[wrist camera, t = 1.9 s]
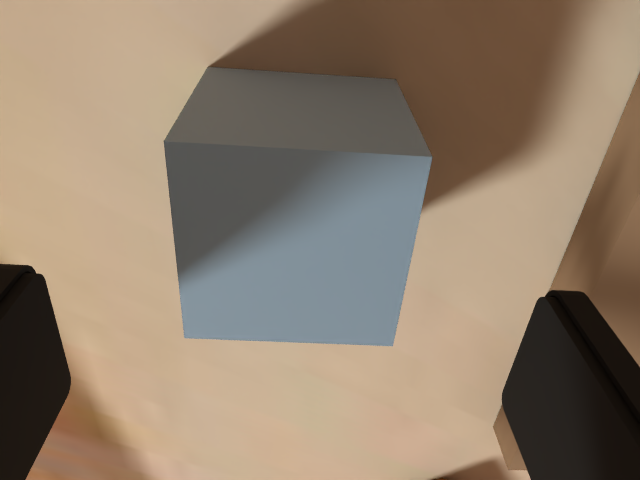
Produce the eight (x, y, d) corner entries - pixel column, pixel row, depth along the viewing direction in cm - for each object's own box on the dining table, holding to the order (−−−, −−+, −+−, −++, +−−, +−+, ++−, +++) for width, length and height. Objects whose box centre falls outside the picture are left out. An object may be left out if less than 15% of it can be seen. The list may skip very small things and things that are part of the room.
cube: (208, 65, 14) (163, 140, 9) (395, 78, 14) (432, 156, 10) (216, 225, 16) (184, 338, 12) (371, 233, 17) (392, 346, 12)
